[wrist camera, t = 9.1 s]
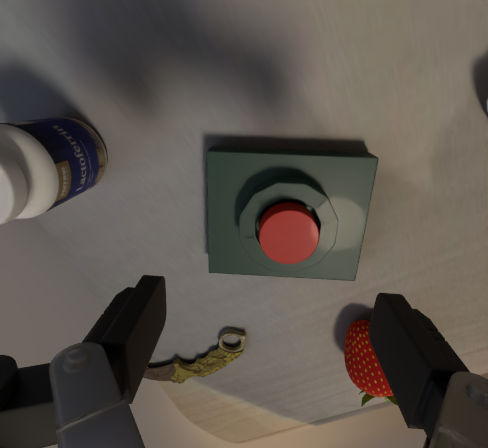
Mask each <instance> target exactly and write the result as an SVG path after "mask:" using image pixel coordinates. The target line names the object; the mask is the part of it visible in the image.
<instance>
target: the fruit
mask: <svg viewBox="0 0 488 448" xmlns="http://www.w3.org/2000/svg"><path fill="white" fill-rule="evenodd" d="M369 325H370V322H369V321H366V320H356V321H354V322H353V323H352V324H351V325H350V327H349V329H348V331H347V335H346V340H345V348H344V356H345V364H346V368H347V371H348V374H349V376H350V378H351V380H352V381H353V383H354V384H355V385H356V386H357V387H358V388H359V389H361V390H362V391H361V392H360V393H362V392H365V393H367V394H365V395H364V396H363V398H362V406H363V405H364V404H365V403H366V402H367V401H369V400H370V399H372V398H374V397H385V399H386V402H387V403H388V400H387V398H388V399H389V400H390V401H391V402H393V403H394V404H396V405H398V404H397V402H396V400H395V397H394V395H393V393H392V391H391V388H390V386H389V384H388V382H387V379H386V377H385V375H384V373H383V370H382V368H381V366H380V364H379V361H378V359H377V357H376V355H375V353H374V350H373V348H372V346H371V343H370V340H369ZM360 393H359V394H360Z"/></svg>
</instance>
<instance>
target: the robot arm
mask: <svg viewBox="0 0 488 448" xmlns="http://www.w3.org/2000/svg"><path fill="white" fill-rule="evenodd" d="M165 320H166V288H165V278H164V277H163V276H151V275H143V276H142V278H141V279H140V281H139V282H138V284H137V285H136V287H135V288H132V287H127V288H126V289H124V290H123V291H121V292H120V293H118V294H117V295H116V296H115V297H114V299H113V300H112V302H111V303H110V304H109V306H108V307H107V308H106V310H105V311H104V314H102V315H101V317H100V318H99V319H98V321H97V322H96V324H95V325H94V326H93V328H92V329H91V331H90V332H89V333H88V335H87V336H86V337H85V339H84V340H83V341H82V343H78V344H74V345H72V346H69V347H67V348H65V349H64V350H62V351H61V352H59V353H58V354H57V355H56V356H55V357H54V358H53V360H52V361H51V363H48V364H42V365H36V366H30V367H24V368H18V367H17V364H16V361H15V360H14V359H13V358H12V357H10V356H6V355H0V448H43V447H46V446H51V445H55V444H58V448H145V446H144V444H143V441H142V438H141V435H140V433H139V430H138V428H137V425H136V422H135V419H134V417H133V414H132V412H131V409H130V406H129V404H132V402H133V399H134V397H135V394H136V392H137V390H138V387H139V385H140V382H141V380H142V378H143V376H144V373H145V371H146V368H147V366H148V364H149V361H150V359H151V356H152V354H153V352H154V349H155V347H156V344H157V342H158V340H159V337H160V335H161V333H162V330H163V328H164V325H165ZM369 340H370V343H371V346H372V348H373V350H374V353H375V355H376V357H377V359H378V361H379V364H380V366H381V368H382V370H383V373H384V375H385V377H386V379H387V382H388V384H389V386H390V388H391V391H392V393H393V395H394V397H395V400H396V402H397V404H398V406H399V408H400V411H401V413H402V415H403V417H404V420H405V422H406V424H407V426H408V428H414V429H424V431H425V432H426V435H427V437H426V440H425V442H424V445H423V448H488V379H486V378H484V377H482V376H480V375H477V374H474V373H470V371H469V370H468V369H467V367H466V366H465V365H464V363H463V362H462V361H461V360H460V358H459V357H458V356H457V354H456V353H455V352H454V350H453V349H452V348H451V346H450V345H449V344H448V342H447V341H445V339H444V337H443V336H442V335H441V333H440V332H438V329H437V328H436V327H435V325H434V324H433V323H432V321H431V320H430V319H429V318H428V317H426V316H425V315H424V314H422V313H421V312H420V311H418V310H417V309H412V308H411V306H410V305H409V303H408V302H407V301H406V299H405V298H404V296H403V295H401V294H389V293H379V294H378V295H377V298H376V301H375V305H374V309H373V313H372V317H371V321H370V325H369Z"/></svg>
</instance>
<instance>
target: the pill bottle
mask: <svg viewBox="0 0 488 448" xmlns="http://www.w3.org/2000/svg"><path fill="white" fill-rule="evenodd" d="M106 167H107V154H106V150H105V147H104V145H103V143H102V141H101V139H100V138H99V136H98V135H97V134H96V133H95V131H94V130H93V129H91V128H90V127H89V126H88V125H86V124H85V123H83V122H81V121H79V120H76V119H73V118H67V117H57V118H47V119H38V120H28V121H18V122H8V123H0V225H1V224H4V223H6V222H8V221H11V220H13V219H26V218H31V217H35V216H38V215H40V214H42V213H44V212H47V211H48V210H50V209H52V208H54V207H56V206H58V205H59V204H61V203H63V202H65V201H67V200H69V199H71V198H73V197H75V196H77V195H78V194H80V193H82V192H84V191H86V190H88V189H90V188H92V187H93V186H95V185H96V184H97V183H98V182H99V181H100V180H101V179H102V177H103V176H104V174H105V171H106Z"/></svg>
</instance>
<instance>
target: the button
mask: <svg viewBox="0 0 488 448" xmlns="http://www.w3.org/2000/svg"><path fill="white" fill-rule="evenodd" d="M259 241H260V245H261V248H262V250H263V251H264V253H265V254H266V255H267V256H268V257H269V258H271V259H272V260H274V261H276V262H279V263H283V264H294V263H298V262H301V261H303V260H305V259H307V258H308V257H309V256H311V255H312V253H313V252H314V251H315V249H316V248H317V245H318V242H319V230H318V227H317V224H316V222H315V219H314V217H313V215H312V213H311V212H310V211H309V210H308V209H307V208H306V207H304V206H303V205H301V204H298V203H294V202H282V203H279V204H276V205H274V206H272V207H271V208H269V209H268V210H267V211H266V212H265V214H264V215H263V217H262V219H261V222H260V228H259Z"/></svg>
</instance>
